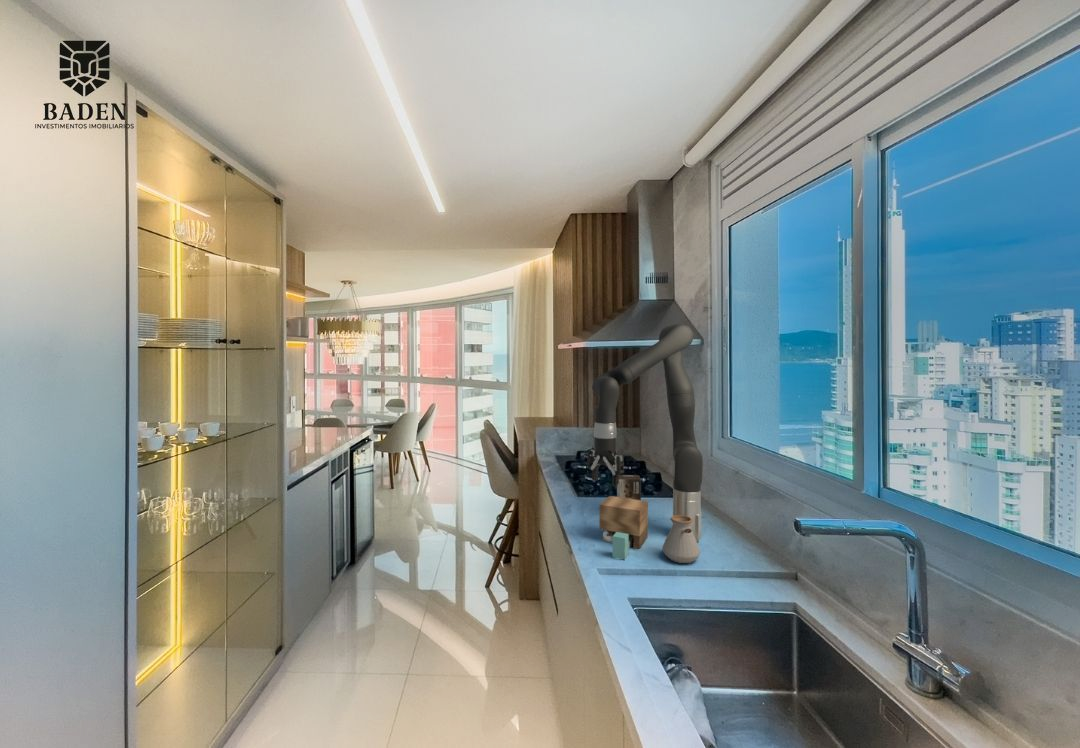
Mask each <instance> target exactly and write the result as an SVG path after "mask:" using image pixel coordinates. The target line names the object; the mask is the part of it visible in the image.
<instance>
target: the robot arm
mask: <svg viewBox="0 0 1080 748" xmlns="http://www.w3.org/2000/svg"><path fill="white" fill-rule="evenodd" d="M693 341H694V332H693V330H692V329H691V327H690V326H688V325H686V324H684V323H683V324H681V323H676V324H673V325H667V326H665V327H663V328H662V329H661V331H660V332H659V335H658V341H657V342H655V343H654V344H652V345H651V346H649V347H647V348H645V349H643V350H641V351H639V352H637V353H635V354H633V355H632V356H630V357H629V358H627V359H626V360H624V361H622V362H621V363H620V364H619V365H617V366H616V367H614V368H612V369H610V370H608V371H606V372H604V373H602V374H600V375H599V376H597V377H596V378H595V379H594V381H593V382H592V386H591V389H592V393H594V395H596V396H597V397H599V398H598V404H597V405H596V406H595V408H594V427H593V448H594V449H590V450H587V457H586V467H587V468H589V469H590V470H591V479H592V481H593V482H597V481H599V467H600V466H604V467H607V468H608V469H609V470H610V472H611V473H612V474H611V475H612V476H611V477H612V479H611V486H612V487H617V485H618V484H619V475H623V474H624V473H625V460H624V459H625V457H624V455H623V454H620V455H618V454H616V450H617V406H618V401H619V397H620V396H619V395H620V386H622V385H628V384H630V383H632V382H633V381H634V380H636V379H637V378H639V377H640V376H642V375H643V374H644V373H645V372H647V371H648V370H650V369H651V368H653V367H654V366H656V365H658V364H659V363H660V362H663V370H664V377H665V379H664V380H665V386H666V387H665V388H666V398H667V399H666V400H667V408H668V413H669V418H670V423H671V428H672V459H673V461H674V476H673V477H674V478H673V486H672V487H673V488H672V490H673V491H672V492H673V493H672V497H673V498H672V516H674V515H683V516H688V517H690V518H692V522H691V524H690V527H691V529H692V532H693V534H694V537H695V539H696V542H697V543H699V542H700V540H701V538H702V510H701V502H702V500H701V499H702V498H701V497H702V496H701V493H702V492H701V491H702V490H701V489H702V484H703V483H702V482H703V463H704V462H703V461H704V460H703V455H702V452H701V451H700V450H699V449H698V446H697V441H696V437H695V430H694V429H695V428H694V424H695V413H696V400H695V399H696V398H695V389H694V385H693V382H692V381H691V378H690V376H689V374H688V372H687V370H686V368H685V366H684V361H683V354H682V351H683V350H686V349H688V347H690V346H691V345H692V343H693Z"/></svg>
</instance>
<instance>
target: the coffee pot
mask: <svg viewBox="0 0 1080 748" xmlns="http://www.w3.org/2000/svg"><path fill="white" fill-rule="evenodd" d="M669 519H670V521H671V522H672V526H671V528H670V530H669V532H668V534H667V536H666V538H665V540H664V543H663V544H662V551H663V553H664V555H665V556H666V557H667V558H668V559H669V558H670V559H671V560H670V559H669V560H670V561H672V560H673V561H675V562H674V563H676V562H679V563H678V564H681V563H689V564H692V563H693V562H695V560H696V561H697V559H698V558H699V557H700V555H701V549H700V546H699V544H698V542H696V539H695V537H694V534H693V532H692V529H691V527H690V524H691V522H692V518H690V517H688V516H683V515H674V516H673V515H672V516H670V517H669ZM673 561H672V562H673ZM691 562H692V563H691Z"/></svg>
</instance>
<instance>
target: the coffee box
mask: <svg viewBox="0 0 1080 748" xmlns="http://www.w3.org/2000/svg"><path fill="white" fill-rule="evenodd" d="M641 492H642V479H641V477H640V475H638V474H619V484H618V485H617V486H616V497H621V498H628V499H634V500H641V501H642V493H641Z"/></svg>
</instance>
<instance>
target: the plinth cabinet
mask: <svg viewBox="0 0 1080 748" xmlns="http://www.w3.org/2000/svg"><path fill="white" fill-rule="evenodd" d="M648 516H649V501H647V500H642V499H641V500H634V499H628V498H621V497H617V496H612V495H609V496H608V497H607V498H605V499H604V500H603V501H602V502H601V503H600V504H599V518H598V519H599V522H598V523H599V525H598V526H599V530H602V531H613V532H620V533H625V534H629V536H630V535H634V543H633V549H634V550H638V549H641V548H642V547H643V545H644V544H645V543H646V541H647V539H648V535H649V534H648V533H649V529H648V528H649V526H648V524H649V523H648V521H649V518H648Z"/></svg>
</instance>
